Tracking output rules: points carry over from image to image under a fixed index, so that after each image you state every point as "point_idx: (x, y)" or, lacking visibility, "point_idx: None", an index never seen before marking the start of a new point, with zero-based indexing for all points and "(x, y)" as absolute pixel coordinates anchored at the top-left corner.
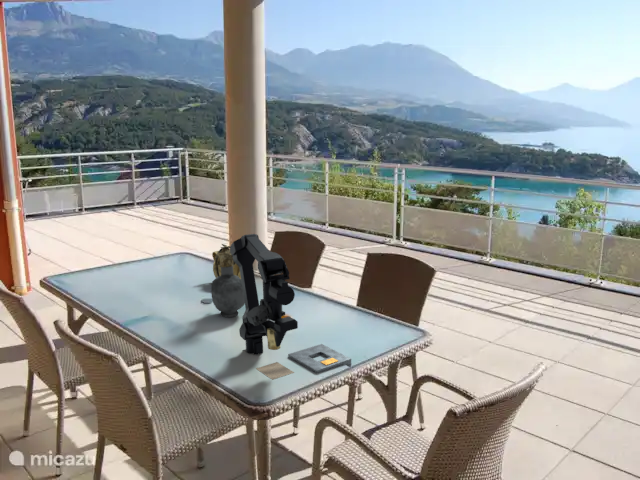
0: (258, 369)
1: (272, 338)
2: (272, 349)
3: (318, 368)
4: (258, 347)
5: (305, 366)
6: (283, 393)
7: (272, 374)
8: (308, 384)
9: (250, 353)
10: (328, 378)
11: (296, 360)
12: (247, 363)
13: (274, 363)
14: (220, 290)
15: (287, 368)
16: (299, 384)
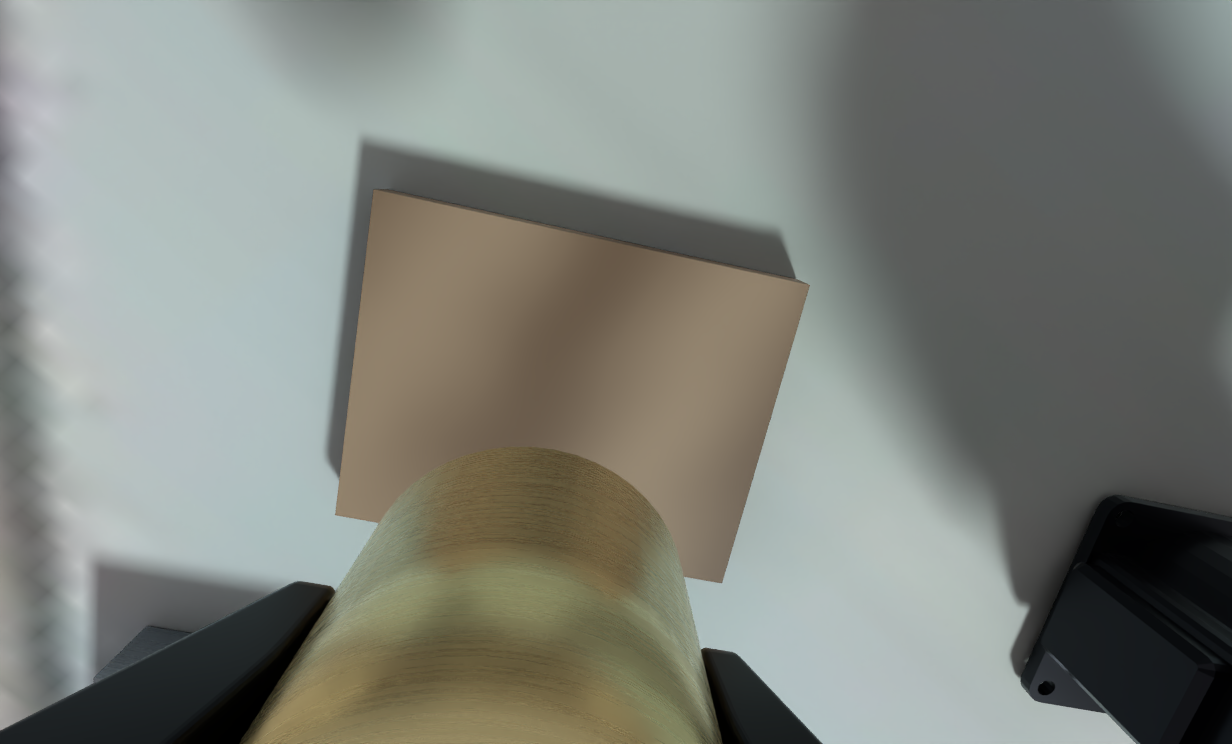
0: (758, 286)
1: (290, 717)
2: (432, 472)
3: None
4: (1138, 654)
5: None
6: (38, 59)
7: (498, 302)
8: (45, 438)
9: (1173, 546)
10: (25, 668)
11: None
12: (1046, 370)
13: (715, 534)
14: None
15: None
16: (116, 372)
